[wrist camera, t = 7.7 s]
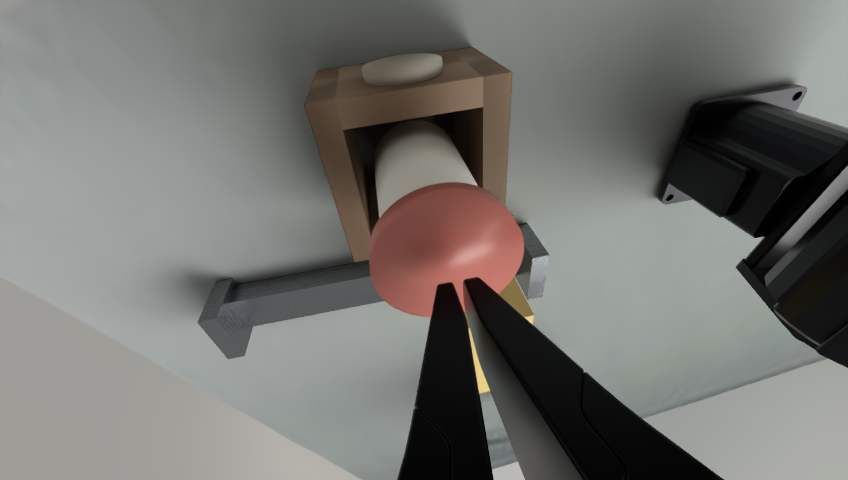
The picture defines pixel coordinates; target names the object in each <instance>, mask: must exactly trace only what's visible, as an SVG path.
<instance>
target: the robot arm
mask: <svg viewBox="0 0 848 480" xmlns="http://www.w3.org/2000/svg"><path fill="white" fill-rule="evenodd" d="M806 92H807V88H806V87H804V86H800V85H791V86H785V87H779V88H773V89H767V90H761V91H755V92H749V93H743V94H737V95H731V96H725V97H720V98H714V99H708V100H702V101H699V102H698V103H696V104H695V105H694V106H693V107H692V109H691V111H690V113H689V116H688V119H687V121H686V124H685V127H684V129H683V132H682V135H681V137H680V140H679V142H678V145H677V148H676V150H675V153H674V156H673V158H672V161H671V164H670V166H669V169H668V172H667V174H666V177H665V180H664V182H663V185H662V188H661V190H660V193H659V195H658V200H659V201H661V202H662V203H663V204H671V203H676V202H682V201H687V200H692V199H693V200H694V201H696V202H697V203H699V204H700V205H702V206H703V207H705V208H706V209H708V210H709V211H711V212H712V213H714V214H715V215H716V216H718V217H724V218H725V219H727V220H728V221H730V222H731V223H733V224H734V225H736V226H737V227H739V228H740V229H742V230H743V231H745V232H746V233H748V234H749V235H751V236H752V237H754V238H758V237H763V239H762V240H761V241H760V243H759V244H758V245H757V246H756V247H755V248H754V249H753V251H752V252H751V253H750V254H749V255H748V256H747V257H746V259H742V260H741V261H740V262H739V264H738V265H737V266H736V268H737V270H738V271H739V272H740V273H741V274H742V276H743V277H744V278H745V279H746V280H747V282H748V283H749V284H750V285H751V286H752V288H753V289H754V290H755V291H756V293H757V294H758V295H759V296H760V297H761V299H762V300H763V301H764V302H765V303H766V305H767V306H768V307H769V308H770V309H771V311H772V312H773V313H774V314H775V315H776V317H777V318H778V319H779V320H780V322H781V323H782V324H783V325H784V326H785V327H786V328H787V329H788V330H789V331H790V333H791V334H792V335H793V336H794V337H795V338H796V339H798V340H800V341H802V342H804V343H806V344H807V345H809V346H810V347H812V348H814V349H815V350H816V351H817V352H818V353H819V354H820V355H822V356H824V357H826V358H828V359H831V360H833V361H835V362H837V363H839V364H841V365H843V366H845V367H847V368H848V128H846V127H843V126H840V125H837V124H833V123H830V122H827V121H824V120H821V119H818V118H814V117H811V116H808V115H805V114H802V113H799V112H796V110H797V109H798V107H799V105H800V103H801V102H802V100H803V98H804V96H805V95H806ZM702 109H703V110H702ZM701 110H702V112H701ZM463 298H464V306H465V311H466V314H467V318H468V322H469V326H470V330H471V334H472V337H473V341H474V345H475V349H476V353H477V356H478V359H479V363H480V366H481V368H482V371H483V374H484V376H485V379H486V381H487V384H488V386H489V389H490V391H491V394H492V397H493V399H494V402H495V404H496V407H497V409H498V412H499V414H500V417H501V419H502V422H503V424H504V427H505V429H506V432H507V435H508V437H509V440H510V442H511V445H512V447H513V450H514V452H515V455H516V457H517V460H518V462H519V465H520V467H521V470H522V473H523V475H524V478H525V480H724V479H722V478H721V477H720V476H718V475H716V474H715V473H714V472H713V471H711V470H710V469H709V468H707V467H706V466H704V465H703V464H702V463H701V462H699V461H698V460H697V459H695V458H694V457H693V456H691V455H690V454H689V453H687V452H686V451H684V450H683V449H682V448H680V447H679V446H677V445H676V444H675V443H674V442H672V441H671V440H670V439H668V438H667V437H666V436H664V435H663V434H662V433H660V432H659V431H658V430H656V429H655V428H654V427H652V426H651V425H649V424H648V423H647V422H645V421H644V420H643V419H642V418H640V417H639V416H638V415H637V414H635V413H634V412H633V411H631V410H630V409H629V408H628V407H626V406H625V405H624V404H622V403H621V402H620V401H619V400H618V399H617V398H615V397H614V396H613V395H612V394H611V393H609V392H608V391H607V390H606V389H605V388H604V387H602V386H601V385H600V384H599V383H598V382H597V381H596V380H594V379H593V378H592V377H591V376H590V375H589V374H588V373H586V372H585V373H584V371H583V369H582V368H581V367H580V366H579V365H577V364H576V363H575V362H574V361H573V360H572V359H571V358H570V357H568V356H567V355H566V354H565V353H564V352H563V351H562V350H561V349H559V348H558V347H557V346H556V345H555V344H554V343H553V342H552V341H550V340H549V339H548V338H547V337H546V336H545V335H544V334H543V333H541V332H540V331H539V330H538V329H537V328H536V327H535V326H534V325H532V324H531V323H530V322H529V321H528V320H527V319H526V318H525V317H523V316H522V315H521V314H520V313H519V312H518V311H517V310H516V309H514V308H513V307H512V306H511V305H510V304H509V303H508V302H507V301H505V300H504V299H503V298H502V297H501V296H500V295H499V294H498V293H496V292H495V291H494V290H493V289H492V288H491V287H490V286H489V285H487V284H486V283H485V282H484V281H483V280H482V279H481V278H479V277H473V278H468V279H465V280H463ZM583 373H584V374H583ZM397 480H493V474H492V468H491V462H490V456H489V450H488V443H487V437H486V431H485V425H484V419H483V413H482V407H481V401H480V395H479V389H478V383H477V377H476V371H475V365H474V359H473V353H472V347H471V341H470V335H469V329H468V324H467V320H466V316H465V313H464V311H463V308H462V305H461V302H460V300H459V297H458V294H457V292H456V289H455V286H454V284H453V283H452V282H447V283H442V284H438V285H437V288H436V293H435V299H434V304H433V310H432V315H431V320H430V326H429V331H428V336H427V342H426V347H425V353H424V358H423V363H422V369H421V374H420V380H419V385H418V390H417V396H416V401H415V409H414V411H413V416H412V421H411V427H410V431H409V436H408V440H407V445H406V450H405V454H404V457H403V461H402V465H401V468H400V472H399V475H398V479H397Z"/></svg>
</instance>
